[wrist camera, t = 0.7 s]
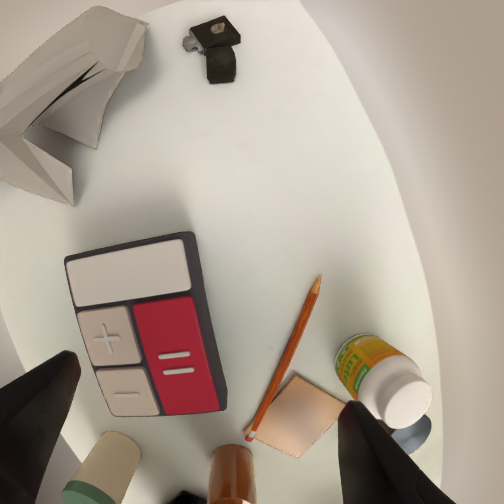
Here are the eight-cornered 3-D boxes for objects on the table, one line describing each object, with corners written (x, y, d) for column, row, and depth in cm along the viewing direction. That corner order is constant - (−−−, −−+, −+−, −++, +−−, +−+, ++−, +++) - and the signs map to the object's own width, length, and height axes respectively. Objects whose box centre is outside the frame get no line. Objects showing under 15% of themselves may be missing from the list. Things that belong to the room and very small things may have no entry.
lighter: (262, 59, 22) (209, 80, 22) (261, 71, 24) (211, 91, 24) (223, 11, 22) (176, 29, 22) (224, 23, 24) (179, 40, 24)
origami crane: (90, 18, 23) (47, -52, 9) (189, 33, 24) (171, -67, 10) (-9, 203, 23) (-98, 193, 9) (76, 254, 24) (-32, 268, 10)
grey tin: (382, 433, 26) (405, 462, 20) (354, 418, 26) (375, 450, 20) (411, 399, 26) (439, 424, 20) (385, 382, 26) (413, 408, 20)
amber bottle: (237, 476, 25) (238, 551, 14) (203, 460, 25) (192, 536, 14) (262, 455, 25) (271, 533, 14) (227, 438, 25) (223, 518, 14)
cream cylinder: (131, 470, 25) (104, 531, 14) (93, 445, 25) (55, 500, 14) (149, 449, 25) (122, 517, 14) (109, 422, 25) (67, 482, 14)
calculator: (109, 421, 21) (57, 257, 20) (123, 399, 25) (81, 253, 24) (228, 416, 21) (185, 230, 20) (228, 390, 26) (194, 230, 24)
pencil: (244, 436, 25) (244, 440, 25) (316, 271, 25) (318, 272, 25) (251, 438, 25) (252, 442, 25) (324, 275, 25) (326, 275, 25)
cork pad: (297, 456, 26) (297, 458, 25) (243, 430, 25) (243, 432, 25) (347, 404, 26) (348, 406, 25) (295, 373, 25) (295, 375, 25)
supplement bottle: (334, 335, 25) (380, 380, 16) (386, 328, 25) (445, 363, 16) (332, 387, 25) (369, 445, 16) (382, 378, 26) (432, 425, 16)
